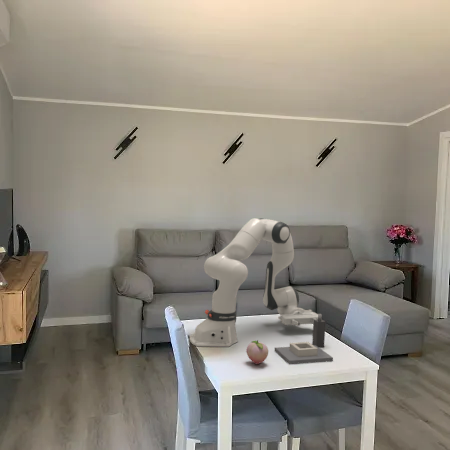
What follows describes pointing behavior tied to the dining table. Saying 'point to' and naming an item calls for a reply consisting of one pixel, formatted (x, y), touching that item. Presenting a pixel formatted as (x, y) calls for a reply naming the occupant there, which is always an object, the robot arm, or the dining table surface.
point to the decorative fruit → (257, 351)
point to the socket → (303, 353)
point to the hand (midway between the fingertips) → (307, 323)
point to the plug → (318, 332)
